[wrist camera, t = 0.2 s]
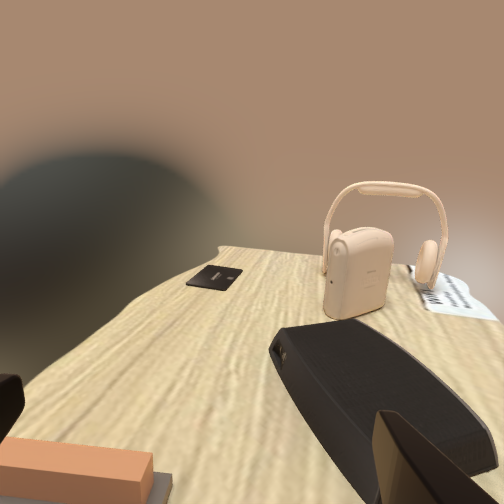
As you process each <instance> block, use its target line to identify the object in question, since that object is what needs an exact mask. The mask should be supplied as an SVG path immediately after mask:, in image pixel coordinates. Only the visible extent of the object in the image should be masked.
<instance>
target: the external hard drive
mask: <svg viewBox="0 0 504 504" xmlns="http://www.w3.org/2000/svg"><path fill="white" fill-rule="evenodd" d="M269 353H270V356H271V358H272V361H273V363H274V365H275V367H276V369H277V371H278V374H279V375H280V377H281V379H282V381H283V383H284V385H285V387H286V389H287V390H288V392H289V394H290V396H291V397H292V399H293V401H294V403H295V404H296V406H297V407H298V409H299V411H300V413H301V414H302V416H303V417H304V419H305V420H306V422H307V423H308V425H309V426H310V428H311V430H312V431H313V432H314V434H315V436H316V437H317V439H318V440H319V441H320V443H321V444H322V446H323V447H324V449H325V450H326V452H327V453H328V454H329V456H330V457H331V459H332V460H333V461H334V463H335V464H336V465H337V467H338V468H339V470H340V471H341V472H342V474H343V475H344V476H345V477H346V479H347V480H348V481H349V483H350V484H351V485H352V487H353V488H354V489H355V491H356V492H357V493H358V494H359V496H360V497H361V498H362V499H363V501H364V502H365V503H366V504H382V498H381V493H380V487H379V482H378V476H377V470H376V465H375V459H374V454H373V448H372V437H373V431H374V425H375V418H376V414H377V412H378V411H379V410H388V411H395V412H397V413H398V414H399V415H400V416H402V417H403V418H404V419H405V420H406V421H407V422H408V423H409V424H411V425H412V426H413V427H414V428H415V429H416V430H417V431H418V432H419V433H421V434H422V435H423V436H424V437H425V438H426V439H427V440H428V441H430V442H431V443H432V444H433V445H434V446H435V447H436V448H437V449H438V450H440V451H441V452H442V453H443V454H444V455H445V456H446V457H447V458H449V459H450V460H451V461H452V462H453V463H454V464H455V465H456V466H457V467H459V468H460V469H461V470H462V471H463V472H464V473H465V474H466V475H468V476H469V477H471V476H474V475H476V474H480V473H482V472H485V471H489V470H491V469H494V468H496V467H498V466H499V464H498V455H497V451H496V447H495V444H494V440H493V437H492V435H491V432H490V430H489V429H488V427H487V426H486V424H485V423H484V422H483V421H482V420H481V419H480V417H479V416H478V415H477V414H476V413H475V412H474V411H473V410H472V409H471V408H470V407H469V406H468V405H467V404H466V403H465V402H464V401H463V400H462V399H461V398H460V397H459V396H458V395H457V394H456V393H455V392H454V391H453V390H452V389H451V388H450V387H449V386H448V385H446V384H445V383H444V382H443V381H442V380H441V379H440V378H439V377H438V376H436V375H435V374H434V373H433V372H432V371H431V370H430V369H428V368H427V367H426V366H425V365H424V364H422V363H421V362H420V361H419V360H418V359H416V358H415V357H414V356H412V355H411V354H410V353H409V352H407V351H406V350H405V349H403V348H402V347H401V346H399V345H398V344H396V343H395V342H393V341H392V340H391V339H389V338H387V337H386V336H384V335H383V334H381V333H380V332H378V331H377V330H375V329H373V328H372V327H370V326H368V325H367V324H365V323H363V322H361V321H359V320H357V319H354V318H353V319H346V320H339V321H332V322H326V323H318V324H311V325H304V326H296V327H288V328H281V329H280V330H279V331H278V333H277V334H276V336H275V337H274V339H273V341H272V343H271V345H270V347H269Z"/></svg>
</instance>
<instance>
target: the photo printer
mask: <svg viewBox="0 0 504 504" xmlns="http://www.w3.org/2000/svg"><path fill="white" fill-rule="evenodd" d="M393 250H394V240H393V238H392V236H391V234H390V233H389V232H387V231H384V230H380V229H377V228H373V227H362V228H357V229H353V230H350V231H347V232H345V233H343V234H341V235H339V236H338V237H336V238H335V239H334V240H333V241H332V243H331V245H330V249H329V258H328V267H327V276H326V285H325V294H324V302H323V309H324V310H325V313H326V315H327V316H329V317H331V318H333V319H336V320H340V319H341V320H343V319H348V318H351V317H354V316H358V315H361V314H364V313H367V312H370V311H373V310H375V309H378V308H380V307H382V306H383V305H384V302H385V298H386V292H387V286H388V280H389V275H390V269H391V263H392V257H393Z"/></svg>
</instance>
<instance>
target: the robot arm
mask: <svg viewBox="0 0 504 504" xmlns="http://www.w3.org/2000/svg"><path fill="white" fill-rule="evenodd" d="M24 406H25V397H24V390H23V384H22V379H21V377H20V376H19V375H17V374H7V373H4V374H0V444H1V443H2V441H3V440H4V438H5V437H6V435H7V434H8V432H9V431H10V429H11V428H12V427H13V425H14V424H15V422H16V421H17V419H18V418H19V416H20V415H21V413H22V411H23V409H24ZM372 448H373V454H374V459H375V465H376V470H377V476H378V482H379V487H380V493H381V498H382V504H499V503H498V502H497V501H495V500H494V499H493V498H492V497H491V496H490V495H489V494H488V493H487V492H485V491H484V490H483V489H482V488H481V487H480V486H479V485H478V484H476V483H475V482H474V481H473V480H472V479H471V478H470V477H469V476H468V475H466V474H465V473H464V472H463V471H462V470H461V469H460V468H459V467H457V466H456V465H455V464H454V463H453V462H452V461H451V460H450V459H449V458H447V457H446V456H445V455H444V454H443V453H442V452H441V451H440V450H438V449H437V448H436V447H435V446H434V445H433V444H432V443H431V442H430V441H428V440H427V439H426V438H425V437H424V436H423V435H422V434H421V433H419V432H418V431H417V430H416V429H415V428H414V427H413V426H412V425H411V424H409V423H408V422H407V421H406V420H405V419H404V418H403V417H402V416H400V415H399V414H398V413H397V412H395V411H388V410H379V411H378V412H377V414H376V418H375V425H374V431H373V437H372Z"/></svg>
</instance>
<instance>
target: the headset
mask: <svg viewBox="0 0 504 504" xmlns="http://www.w3.org/2000/svg"><path fill="white" fill-rule="evenodd" d="M354 189H357V190H358V192H359V193H361V194H365V195H392V196H402V197H410V198H417V197H420V196H421V195H423V194H425V195H427V196H428V197H430V198H431V199H432V200H433V202H434V203H435V205H436V207H437V209H438V212H439V215H440V220H441V227H442V238H441V240H440V244H439V247H438V246H437V243H436V242H435V241H433V240H427V241H425V242H424V243H423V244H422V246H421V249H420V252H419V255H418V258H417V263H416V268H415V279H416V281H417V282H419V283H421V284H425V283H427V282H428V283H427V286H428V288H429V289H431V290H432V289H434V286H435V283H436V280H437V277H438V273H439V270H440V267H441V263H442V260H443V257H444V253H445V250H446V246H447V242H448V225H447V218H446V213H445V210H444V207H443V205H442V202H441V201H440V199H439V198H438V196H436V194H434V193H433V192H432V191H430V190H429V189H426V188H424V187H421V186H417V185H413V184H407V183H397V182H382V181H368V182H360V183H355V184H352V185H350V186H348V187H346V188H345V189H344V190H343V191H341V192H340V194H339V195H338V196H337V198H336V199H335V201H334V202H333V204H332V206H331V208H330V211H329V213H328V215H327V218H326V220H325V223H324V249H323V273H326V268H327V265H328V258H329V249H330V245H331V243H332V241H333V240H334V239H335V238H336V237H338V236H339V235H341V234H343V233H342V231H340V230H333V231H332V232H331V235H330V239H329V223H330V220H331V218H332V215H333V213H334V211H335V209H336V207H337V205H338V203H339V202H340V200H341V199H342V198H343V197H344V196H345V195H346V194H347V193H348V192H350V191H352V190H354Z"/></svg>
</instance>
